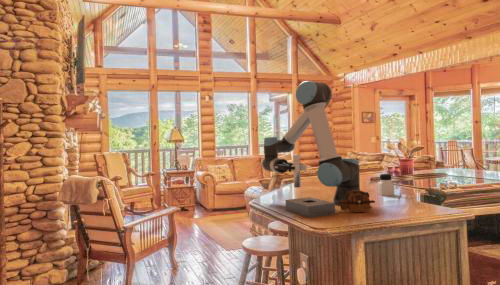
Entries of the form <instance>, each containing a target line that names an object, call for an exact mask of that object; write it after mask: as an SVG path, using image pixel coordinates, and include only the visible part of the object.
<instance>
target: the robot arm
mask: <svg viewBox="0 0 500 285" xmlns="http://www.w3.org/2000/svg"><path fill="white" fill-rule="evenodd" d="M332 96H333V94H332V89H331V88H330V86H329V85H328V84H326V83H323V82H317V81H314V80H305V81H302V82H301V83H300V84H299V85H298V86H297V89H296V91H295V98H296V101H297V102H298V103H300V104H301V105H302V108H303V111H302V112H301V114H300V115H299V116H298V117H297V119H296V120H295V121H294V123H292V125H291V126H290V128H289V129H288V131H287V132H286V133H285V135H283V137H282V138H281V139H278V137H277V136H265V137H264V138H263V149H264V151H263V152H264V154H263V155H264V158H263V159H262V162H261V167H262V168H263V170H265V171H267V172H272V173H273V172H274V173H276V174H285V173H286V172H289V173H290V172H292V171H293V172H294V171H300V172H301V171H305V172H306V171H307V172H308V167H307V166H308V165H307V164H304V163H302V162H300V166H298V165H293V162H289V161H288V160H287V159H285V158H279V154H281V153H283V154H284V153H285V154H286V153H291V152H293V151H294V149H295V145H296V143H297V141H298V140H299V139H300V138H301V137H302V135H303V134H304V133H305V131H306V130H307V129H308V128H309V127H310V126H311V130H312V133H313V137H314V140H315V144H316V148H317V151H318V155H319V160H318V161H317V162H318V167H317V168H318V169H317V171H316V175H317V178H318V180H319V182H320V183H321V184H322V185H323V186H325V187H330V188H336V189H335V192H334V196H333V201H332V203H335V205H339V206H340V204H338V202H339V201H341V200H347V198H346V193H347V192H351V191H354V190H359V191H362V190H361V187H360V182H361V181H360V178H361V177H360V167H361V166H360V162H359V160H358V159H357V158H345V157H342V155H340V154H339V153H338V152H337V148H336V145H335V141H334V138H333V134H332V130H331V127H330V123H329V120H328V116H327V113H326V110H325V109H326V108H327V107H328V105H329V104H330V102H331V99H332Z"/></svg>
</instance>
